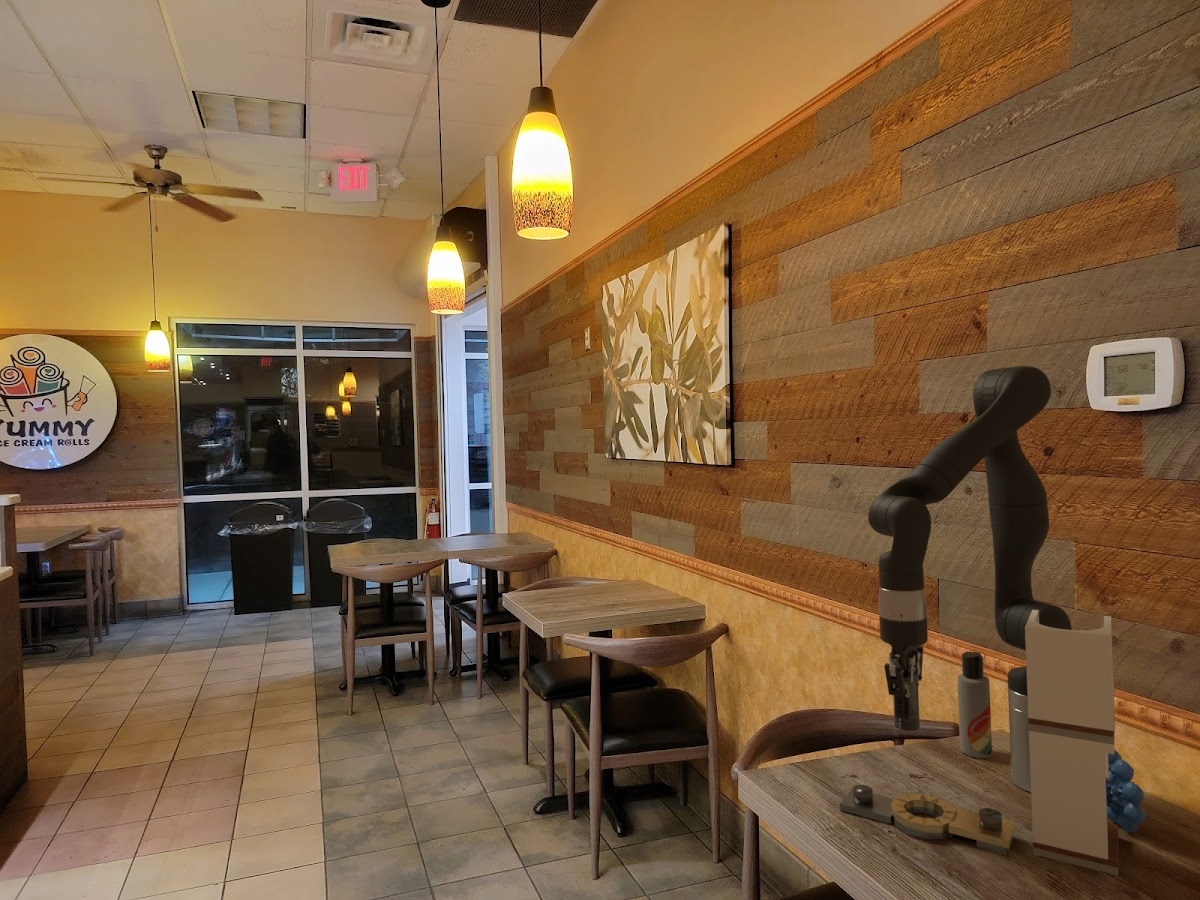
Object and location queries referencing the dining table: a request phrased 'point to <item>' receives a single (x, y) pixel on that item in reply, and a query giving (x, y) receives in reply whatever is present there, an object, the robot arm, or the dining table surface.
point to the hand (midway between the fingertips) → (906, 712)
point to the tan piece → (949, 821)
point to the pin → (913, 720)
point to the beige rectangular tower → (1071, 743)
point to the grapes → (1123, 795)
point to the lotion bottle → (974, 707)
